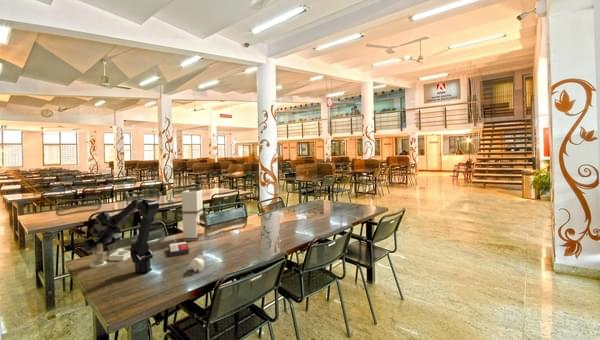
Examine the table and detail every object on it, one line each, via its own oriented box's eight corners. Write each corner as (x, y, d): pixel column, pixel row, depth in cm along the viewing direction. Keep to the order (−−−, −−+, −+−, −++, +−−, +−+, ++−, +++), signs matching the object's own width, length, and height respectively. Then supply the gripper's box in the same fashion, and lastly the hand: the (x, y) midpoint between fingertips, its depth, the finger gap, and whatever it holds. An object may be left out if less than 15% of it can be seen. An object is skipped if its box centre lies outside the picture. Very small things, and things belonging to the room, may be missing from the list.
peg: (104, 261, 172) (103, 239, 171) (102, 264, 167) (100, 242, 166) (94, 262, 170) (93, 240, 170) (91, 265, 166) (90, 243, 165)
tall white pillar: (198, 240, 212) (196, 191, 210) (183, 240, 212) (181, 192, 210) (203, 235, 223) (202, 189, 221) (189, 236, 223) (187, 190, 221)
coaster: (110, 262, 173) (110, 261, 173) (100, 267, 165) (100, 266, 165) (97, 262, 173) (96, 261, 173) (86, 267, 165) (86, 266, 165)
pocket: (133, 255, 184) (132, 250, 183) (123, 260, 175) (123, 255, 175) (119, 255, 184) (118, 250, 184) (109, 260, 175) (108, 255, 175)
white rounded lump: (191, 267, 163) (190, 254, 163) (208, 267, 163) (207, 254, 162) (185, 272, 156) (184, 259, 155) (203, 272, 155) (202, 259, 155)
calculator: (169, 251, 180) (168, 243, 193) (170, 258, 180) (168, 249, 194) (189, 248, 185) (186, 240, 198) (189, 255, 185) (186, 247, 199)
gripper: (116, 217, 175) (103, 234, 179) (83, 225, 157) (70, 244, 162) (126, 231, 173) (114, 248, 177) (95, 241, 155) (81, 259, 159)
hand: (95, 249), depth 169 cm, fingers open, 9 cm apart
